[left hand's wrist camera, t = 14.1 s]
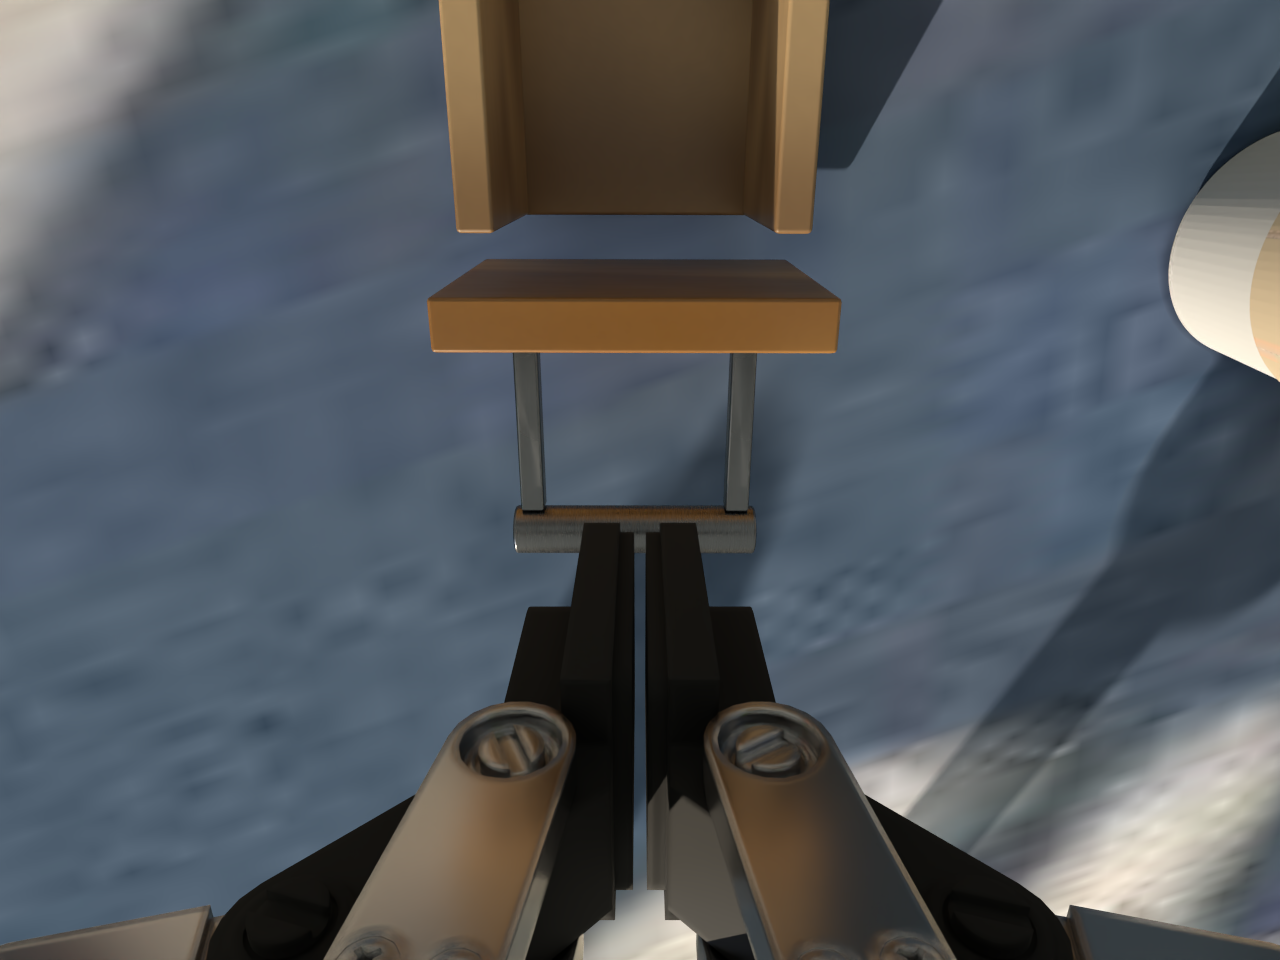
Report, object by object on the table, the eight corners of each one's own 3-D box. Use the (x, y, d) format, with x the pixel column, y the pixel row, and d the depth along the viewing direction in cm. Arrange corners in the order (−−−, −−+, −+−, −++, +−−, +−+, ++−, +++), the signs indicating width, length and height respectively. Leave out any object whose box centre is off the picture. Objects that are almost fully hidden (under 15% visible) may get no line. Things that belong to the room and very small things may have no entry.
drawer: (772, 480, 27) (815, 588, 20) (499, 480, 27) (453, 587, 20) (843, -578, 18) (965, -1019, 11) (429, -578, 18) (302, -1020, 11)
